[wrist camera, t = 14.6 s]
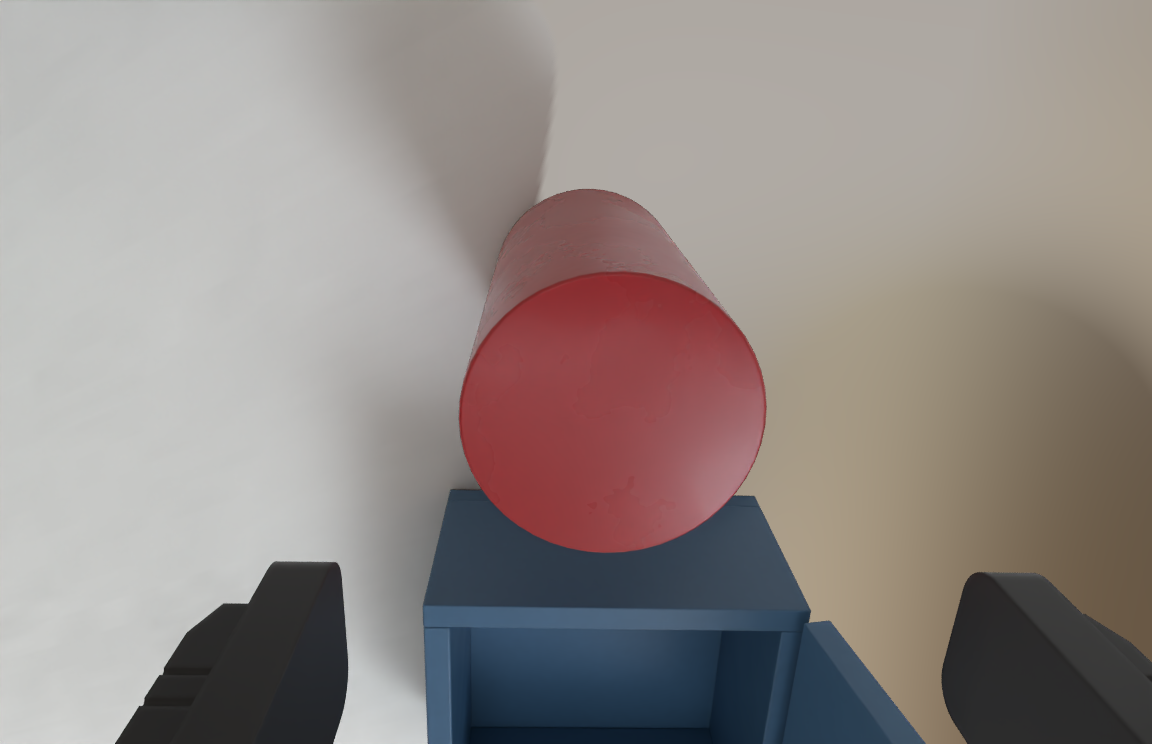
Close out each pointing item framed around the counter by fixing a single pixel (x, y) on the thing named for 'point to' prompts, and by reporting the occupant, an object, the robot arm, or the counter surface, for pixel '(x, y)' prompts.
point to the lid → (840, 697)
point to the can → (606, 382)
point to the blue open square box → (609, 634)
